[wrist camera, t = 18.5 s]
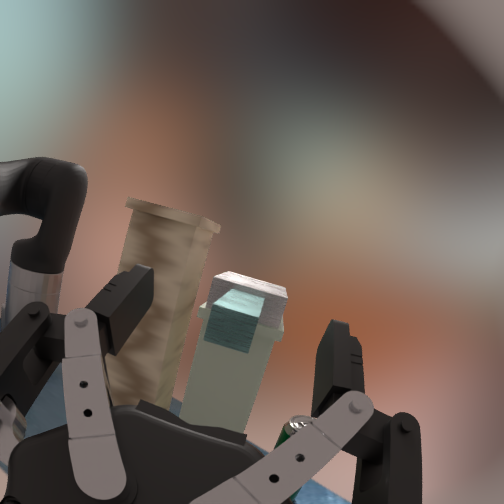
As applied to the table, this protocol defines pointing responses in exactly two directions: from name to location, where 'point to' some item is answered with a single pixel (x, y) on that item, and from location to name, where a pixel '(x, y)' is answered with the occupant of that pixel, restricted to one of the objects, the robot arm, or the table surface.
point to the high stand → (159, 300)
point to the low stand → (226, 379)
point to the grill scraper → (242, 309)
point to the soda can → (290, 430)
